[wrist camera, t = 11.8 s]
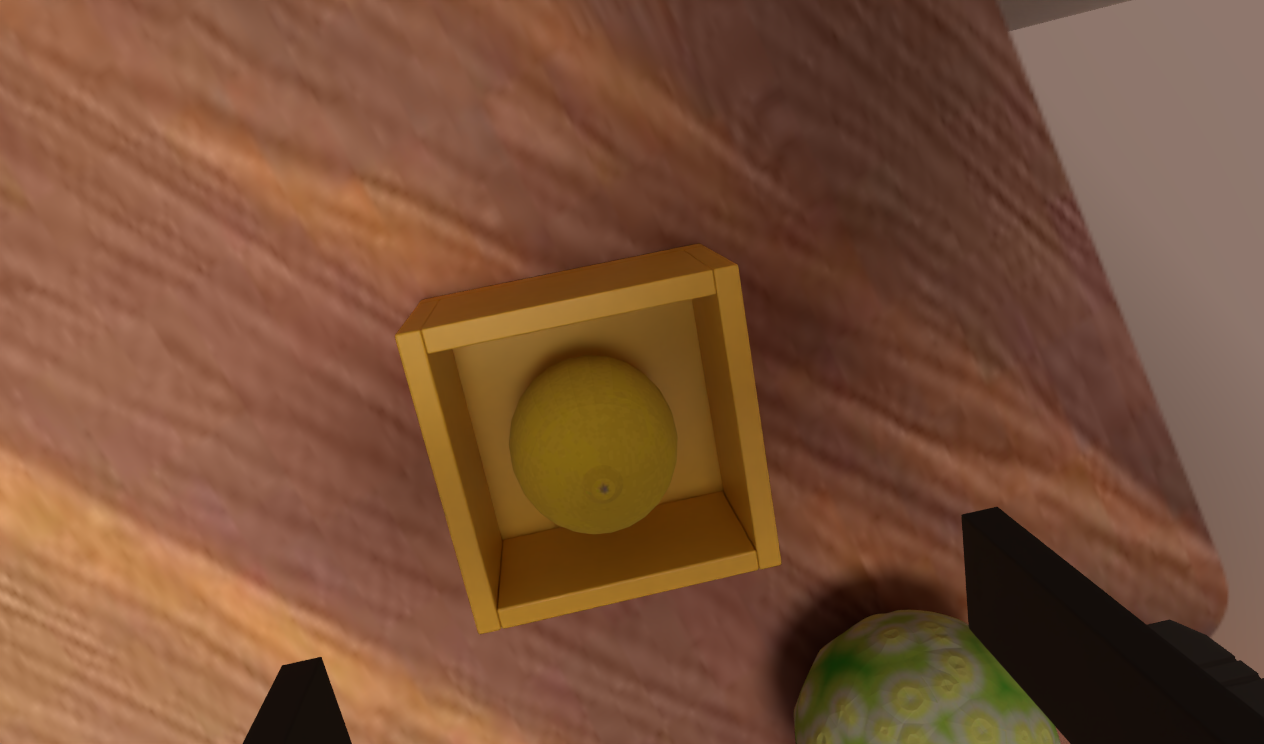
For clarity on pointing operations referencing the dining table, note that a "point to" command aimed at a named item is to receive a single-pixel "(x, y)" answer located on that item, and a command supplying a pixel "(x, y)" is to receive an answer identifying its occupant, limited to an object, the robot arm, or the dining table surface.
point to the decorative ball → (914, 688)
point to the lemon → (593, 444)
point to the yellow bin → (621, 329)
